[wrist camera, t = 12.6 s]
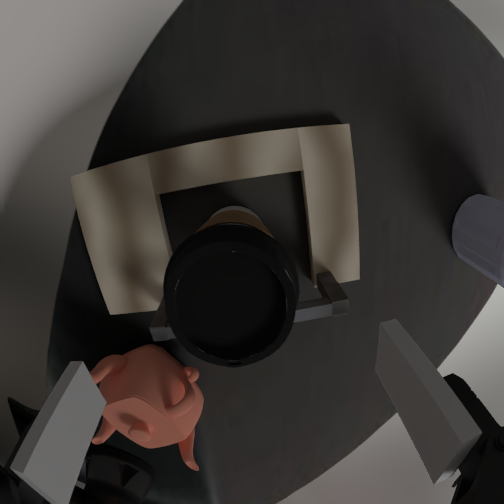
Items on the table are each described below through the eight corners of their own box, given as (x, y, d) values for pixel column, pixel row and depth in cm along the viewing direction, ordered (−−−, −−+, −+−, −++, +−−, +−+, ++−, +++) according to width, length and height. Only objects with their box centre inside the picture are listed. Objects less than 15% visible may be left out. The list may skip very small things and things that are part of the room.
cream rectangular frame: (114, 308, 32) (90, 345, 25) (76, 175, 27) (35, 185, 20) (354, 273, 32) (381, 306, 25) (343, 124, 27) (375, 119, 19)
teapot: (204, 414, 39) (198, 475, 29) (112, 393, 38) (89, 448, 27) (220, 342, 34) (213, 412, 24) (106, 316, 33) (69, 374, 23)
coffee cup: (197, 275, 31) (168, 371, 17) (189, 195, 29) (140, 241, 14) (277, 271, 32) (303, 366, 17) (275, 190, 29) (310, 233, 15)
